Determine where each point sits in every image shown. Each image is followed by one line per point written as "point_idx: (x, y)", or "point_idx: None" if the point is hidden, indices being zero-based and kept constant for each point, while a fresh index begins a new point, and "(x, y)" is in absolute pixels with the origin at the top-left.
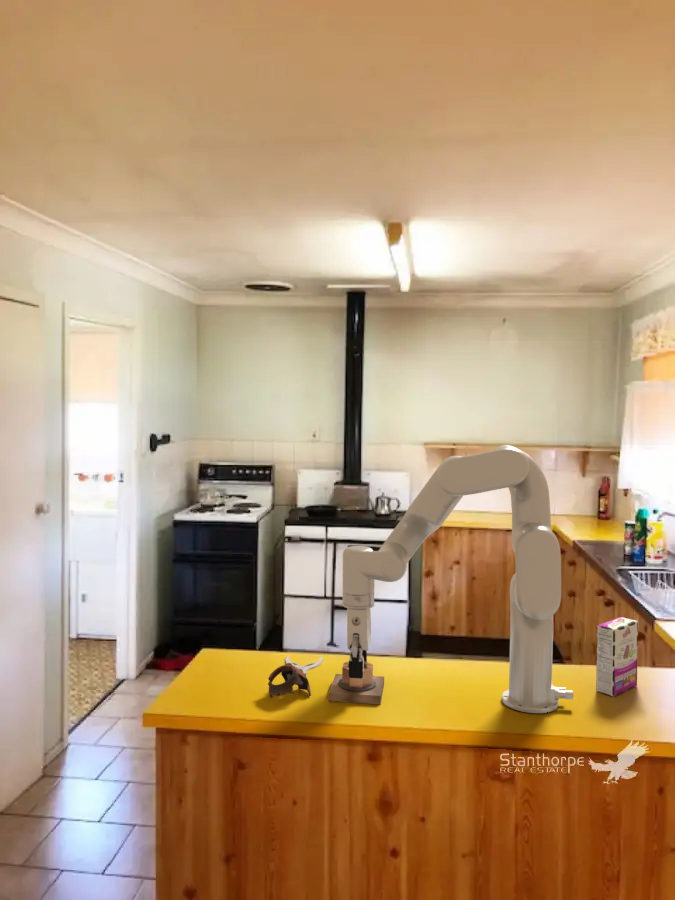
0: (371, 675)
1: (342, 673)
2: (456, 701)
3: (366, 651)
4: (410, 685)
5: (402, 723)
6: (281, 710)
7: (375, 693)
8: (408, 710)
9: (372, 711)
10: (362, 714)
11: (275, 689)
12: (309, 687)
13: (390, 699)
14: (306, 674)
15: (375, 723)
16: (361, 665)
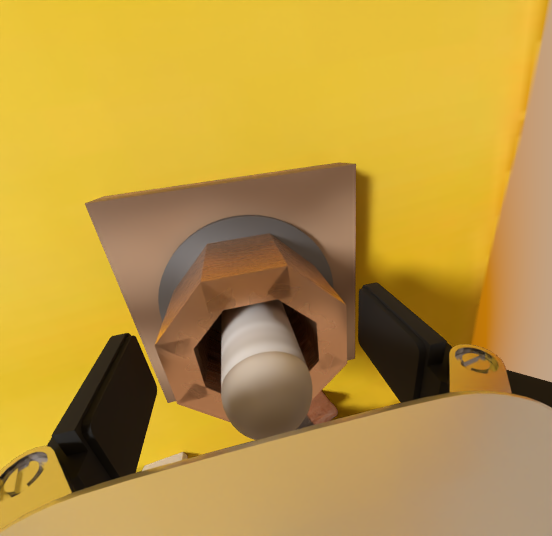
0: (281, 251)
1: None
2: None
3: (93, 397)
4: (25, 29)
5: (513, 21)
6: None
7: (333, 195)
8: (384, 2)
9: (405, 180)
10: (431, 210)
11: None
12: (324, 417)
13: (275, 126)
14: (159, 463)
15: (501, 145)
16: (422, 328)
